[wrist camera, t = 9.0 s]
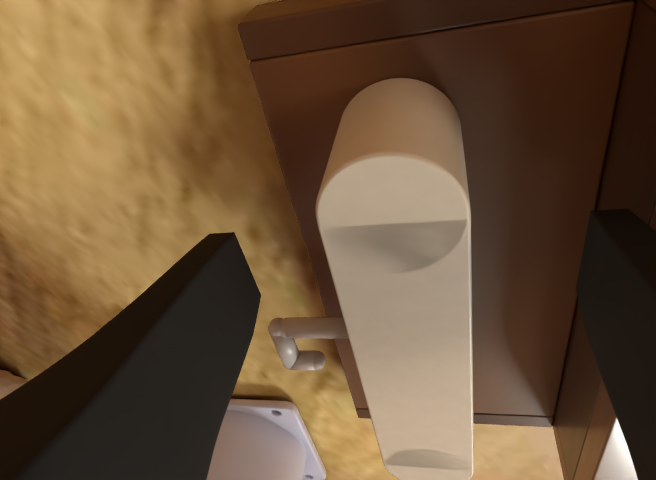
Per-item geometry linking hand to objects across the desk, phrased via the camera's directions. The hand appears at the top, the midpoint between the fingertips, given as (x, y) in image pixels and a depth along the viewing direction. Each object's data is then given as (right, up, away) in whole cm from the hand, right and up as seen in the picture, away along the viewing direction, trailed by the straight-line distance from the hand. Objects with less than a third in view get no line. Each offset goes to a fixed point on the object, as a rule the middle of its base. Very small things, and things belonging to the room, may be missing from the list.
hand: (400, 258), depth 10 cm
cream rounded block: (0, -1, +4) cm, 5 cm away
